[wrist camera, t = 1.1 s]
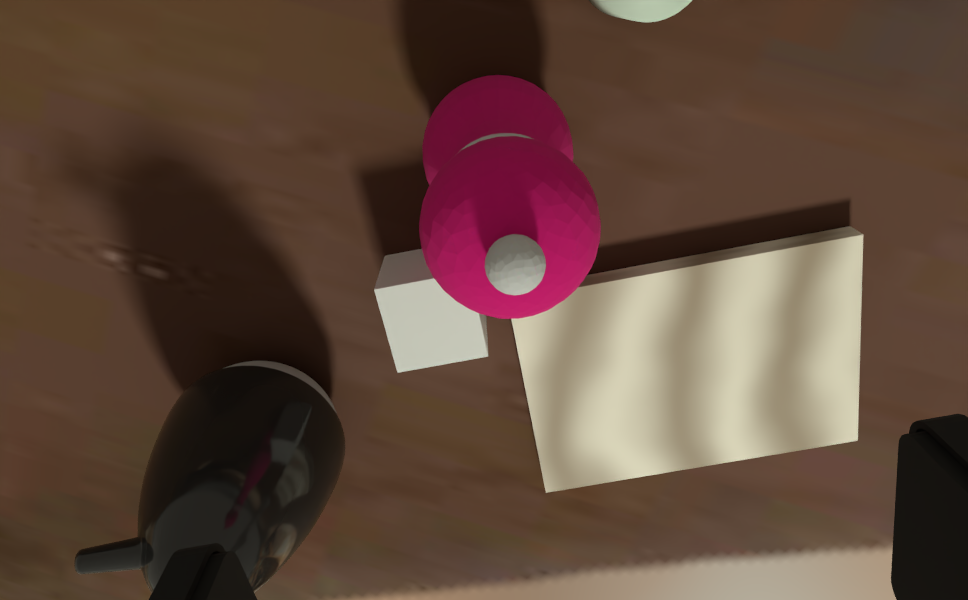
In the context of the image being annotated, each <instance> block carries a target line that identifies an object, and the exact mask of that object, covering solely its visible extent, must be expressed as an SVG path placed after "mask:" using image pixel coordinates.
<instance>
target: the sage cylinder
mask: <svg viewBox="0 0 968 600" xmlns="http://www.w3.org/2000/svg"><path fill="white" fill-rule="evenodd" d="M589 1H590V2H591V4H592V5H593V6H595V7H596V8H597V9H598V10H600V11H601V12H603V13H605V14H607V15H610V16H614V17H618V18H623V19H628V20H632V21H638V22H655V21H660V20H664V19H666V18H669V17H671V16H673V15H675V14H676V13H678V12H680V11H681V10H682V9H684V8H685V7H686V6H687V5H688V4H689V3H690V2H691V1H692V0H589Z"/></svg>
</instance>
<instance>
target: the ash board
mask: <svg viewBox="0 0 968 600" xmlns="http://www.w3.org/2000/svg"><path fill="white" fill-rule="evenodd" d="M862 262H863V234H862V233H860V232H858V231H857V230H855V229H854V228H852V227H850V226H848V227H842V228H837V229H832V230H826V231H821V232H816V233H810V234H805V235H800V236H794V237H789V238H783V239H778V240H773V241H767V242H762V243H757V244H751V245H746V246H741V247H735V248H730V249H724V250H719V251H714V252H708V253H703V254H698V255H692V256H687V257H681V258H676V259H671V260H665V261H660V262H655V263H649V264H644V265H639V266H633V267H628V268H622V269H617V270H612V271H606V272H601V273H596V274H590V275H587V276H586V277H585V279H584V280H583V282H582V283H581V284H580V285H579V286H578V288H577V289H576V290H575V291H574V292H573V293H572V294H571V295H570V296H568V297H567V298H566V299H565V300H564V301H562V302H561V303H559V304H557V305H556V306H554V307H553V308H551V309H549V310H547V311H545V312H542V313H539V314H537V315H534V316H529V317H524V318H519V319H511V320H512V325H513V330H514V335H515V340H516V345H517V350H518V355H519V360H520V365H521V370H522V375H523V380H524V385H525V390H526V395H527V400H528V405H529V410H530V415H531V420H532V425H533V430H534V435H535V440H536V445H537V450H538V455H539V460H540V465H541V470H542V475H543V480H544V485H545V490H546V493H547V492H553V491H559V490H565V489H571V488H577V487H583V486H589V485H595V484H601V483H607V482H613V481H619V480H625V479H631V478H637V477H643V476H649V475H655V474H661V473H667V472H673V471H679V470H685V469H691V468H697V467H703V466H709V465H715V464H721V463H727V462H733V461H739V460H744V459H750V458H756V457H762V456H768V455H774V454H780V453H786V452H792V451H798V450H804V449H810V448H816V447H822V446H828V445H834V444H840V443H846V442H852V441H858V407H859V371H860V334H861V298H862Z"/></svg>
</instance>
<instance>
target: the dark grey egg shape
mask: <svg viewBox="0 0 968 600" xmlns="http://www.w3.org/2000/svg"><path fill="white" fill-rule="evenodd" d="M344 456H345V437H344V432H343V428H342V425H341V423H340V420H339V418H338V416H337V413H336V411H335V408H334V406H333V404H332V402H331V400H330V398H329V397H328V395H327V394H326V393H325V391H324V390H323V389H322V388H321V387H320V386H319V385H318V384H317V383H316V382H315V381H314V380H313V379H312V378H310V377H309V376H308V375H306V374H305V373H303V372H301V371H299V370H297V369H295V368H293V367H290V366H288V365H285V364H281V363H277V362H271V361H248V362H242V363H238V364H234V365H231V366H228V367H225V368H223V369H220V370H217V371H214V372H211V373H209V374H207V375H205V376H203V377H201V378H200V379H198V380H197V381H195V382H194V383H193V384H191V385H190V386H189V387H188V388H187V389H186V390H185V391H184V392H183V393H182V395H181V396H180V397H179V398H178V400H177V401H176V403H175V404H174V406H173V407H172V409H171V411H170V412H169V414H168V416H167V418H166V420H165V422H164V424H163V426H162V429H161V431H160V433H159V435H158V438H157V440H156V442H155V445H154V447H153V450H152V453H151V455H150V458H149V461H148V465H147V468H146V472H145V476H144V480H143V484H142V489H141V495H140V502H139V511H138V537H136V538H132V539H127V540H123V541H118V542H113V543H109V544H104V545H99V546H95V547H90V548H85V549H81V550H80V551H79V552H78V553H77V554H76V557H75V570H76V572H77V573H79V574H89V573H101V572H112V571H124V570H137V569H141V570H142V572H143V575H144V578H145V581H146V583H147V585H148V587H149V589H150V591H151V592H153V590H154V588H155V586H156V585H157V583H158V581H159V579H160V577H161V575H162V573H163V571H164V569H165V567H166V565H167V563H168V561H169V559H170V558H171V556H172V555H173V553H174V552H176V551H177V550H179V549H184V548H190V547H196V546H201V545H207V544H213V543H219V544H220V545H222V546H223V547H224V549H225V551H226V552H228V551H233V552H234V553H236V555H237V556H238V558H239V560H240V563H241V565H242V567H243V569H244V572H245V574H246V576H247V578H248V580H249V583H250V585H251V587H252V589H253V592H256V591H257V590H258V589H259V588H261V587H262V586H263V585H264V584H265V583H266V582H267V581H268V580H269V579H270V578H271V577H272V576H273V575H274V574H275V573H276V572H277V571H278V570H279V569H280V568H281V567H282V566H283V565H284V564H285V563H286V562H287V560H288V559H289V558H290V557H291V556H292V555H293V554H294V552H295V551H296V550H297V549H298V547H299V546H300V545H301V544H302V542H303V541H304V540H305V538H306V537H307V536H308V534H309V533H310V531H311V530H312V528H313V527H314V525H315V524H316V522H317V520H318V519H319V517H320V515H321V513H322V512H323V510H324V508H325V506H326V504H327V502H328V500H329V498H330V496H331V494H332V492H333V490H334V488H335V485H336V483H337V481H338V478H339V475H340V472H341V469H342V465H343V461H344Z"/></svg>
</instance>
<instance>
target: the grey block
mask: <svg viewBox="0 0 968 600" xmlns="http://www.w3.org/2000/svg"><path fill="white" fill-rule="evenodd" d="M374 291H375V294H376V298H377V302H378V305H379V309H380V312H381V316H382V319H383V323H384V326H385V330H386V333H387V337H388V340H389V344H390V348H391V351H392V355H393V358H394V362H395V365H396V369H397V372H398V373H399V372H404V371H410V370H415V369H421V368H426V367H432V366H438V365H443V364H449V363H454V362H460V361H465V360H471V359H476V358H482V357H487V356H488V342H487V321H486V315H483V314H479V313H477V312H475V311H472V310H470V309H468V308H467V307H465V306H463V305H462V304H460V303H458V302H457V301H456V300H454V299H453V298H452V297H451V296H450V295H448V294H447V293H446V292H445V291H444V290H443V289H442V288H441V286H440V285H439V284H438V283H437V281H436V280H435V279H434V278H433V276H432V274H431V272H430V270H429V268H428V266H427V264H426V261H425V258H424V255H423V251H422V249H418V250H412V251H407V252H402V253H397V254H391V255H386V256H385V257H384V260H383V263H382V266H381V269H380V272H379V276H378V279H377V282H376V285H375V288H374Z"/></svg>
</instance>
